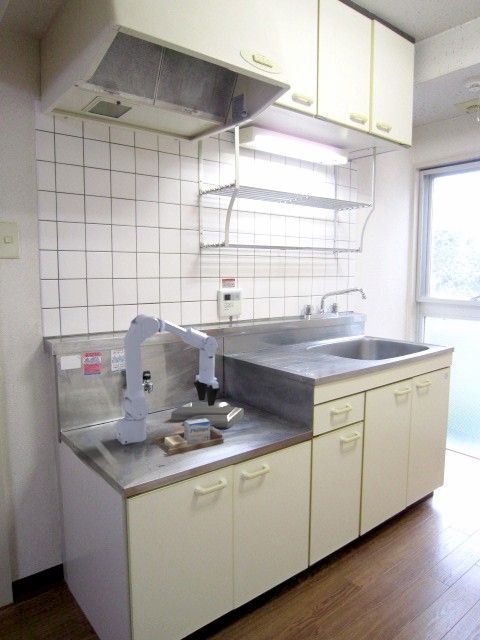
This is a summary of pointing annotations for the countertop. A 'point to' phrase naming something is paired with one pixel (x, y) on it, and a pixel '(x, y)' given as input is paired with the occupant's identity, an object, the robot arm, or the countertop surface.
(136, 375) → the robot arm
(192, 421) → the medicine box
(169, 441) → the offcut top
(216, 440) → the rack
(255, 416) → the countertop surface
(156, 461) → the countertop surface
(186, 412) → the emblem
